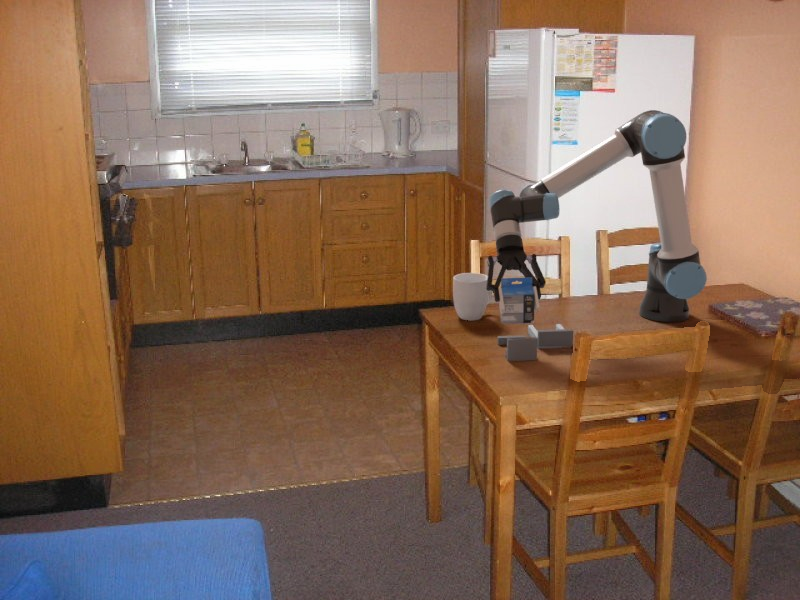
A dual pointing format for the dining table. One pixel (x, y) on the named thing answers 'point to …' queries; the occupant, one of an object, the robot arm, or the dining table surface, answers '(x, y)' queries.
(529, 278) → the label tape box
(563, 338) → the dock
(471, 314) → the mug
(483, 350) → the dining table surface
